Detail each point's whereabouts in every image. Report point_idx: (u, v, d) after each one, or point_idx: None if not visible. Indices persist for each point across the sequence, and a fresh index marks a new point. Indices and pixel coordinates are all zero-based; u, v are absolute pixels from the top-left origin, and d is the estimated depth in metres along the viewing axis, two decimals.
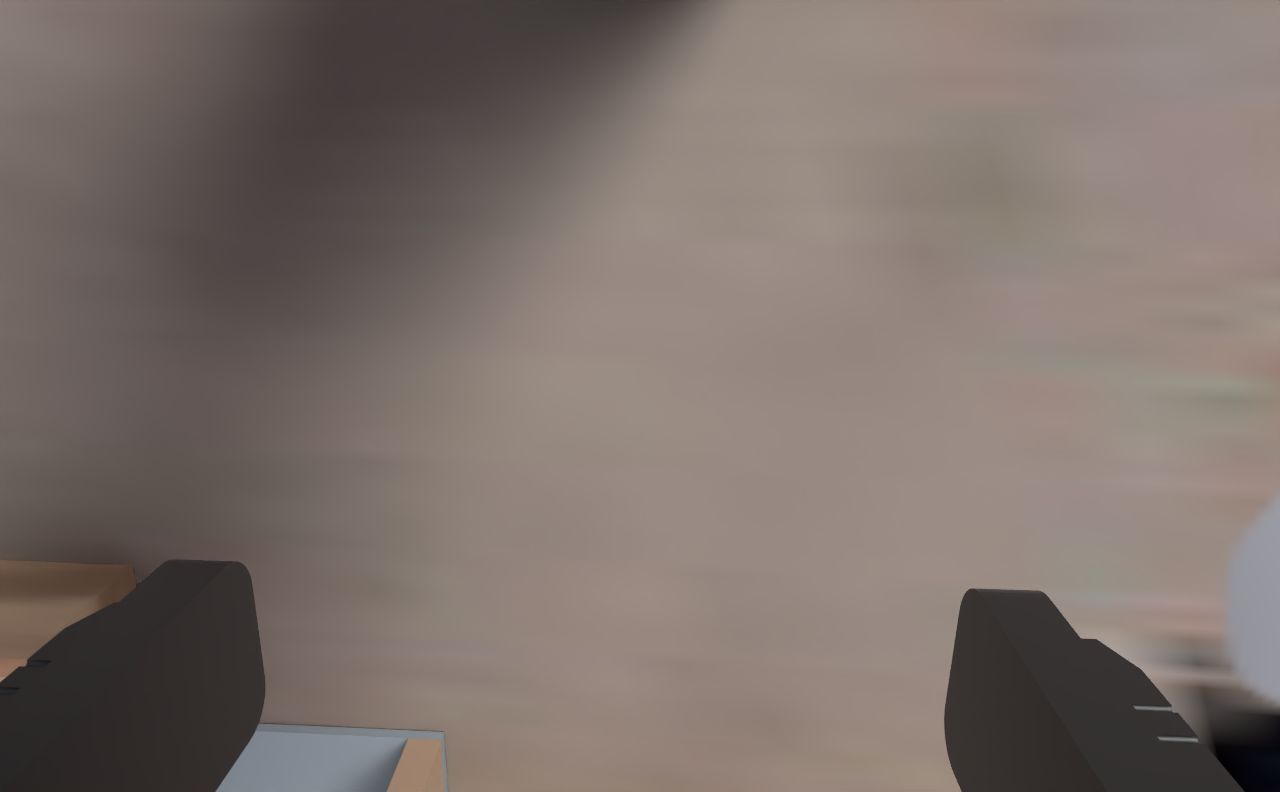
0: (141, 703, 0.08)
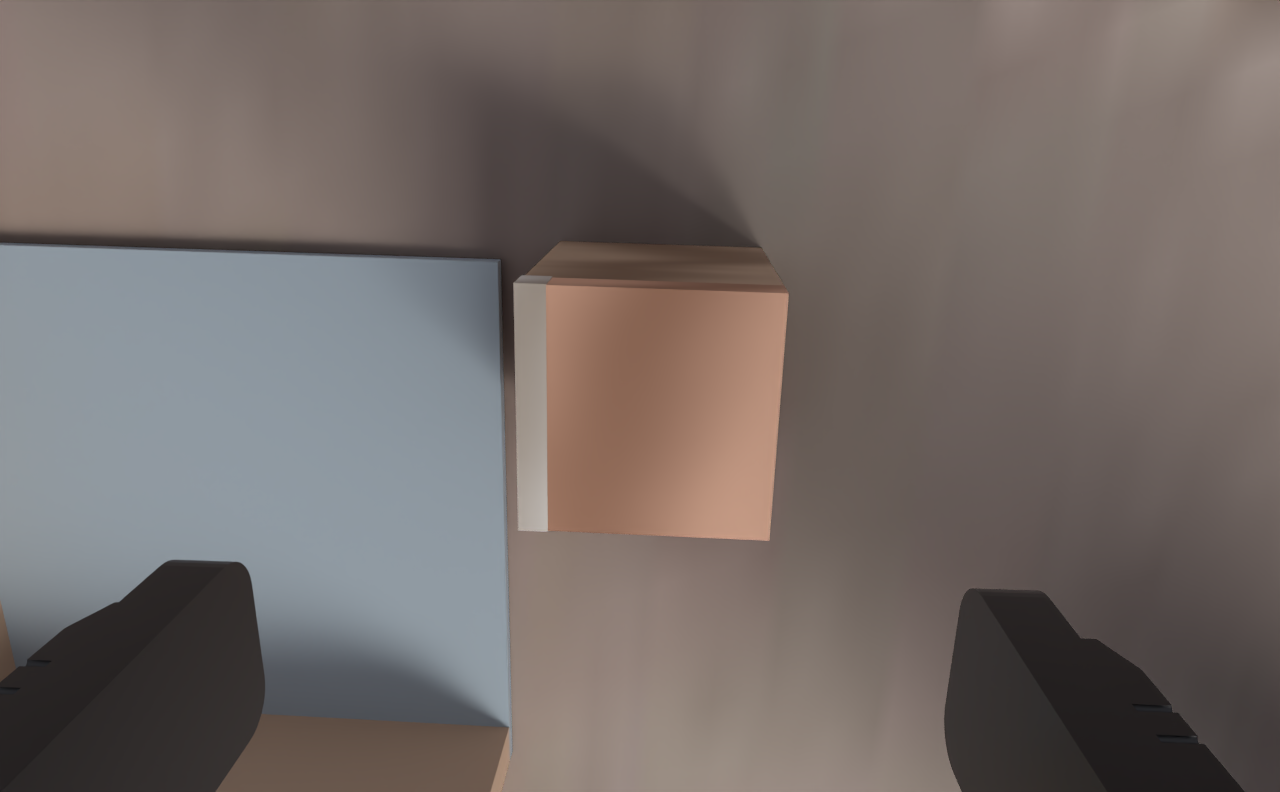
0: (139, 702, 0.08)
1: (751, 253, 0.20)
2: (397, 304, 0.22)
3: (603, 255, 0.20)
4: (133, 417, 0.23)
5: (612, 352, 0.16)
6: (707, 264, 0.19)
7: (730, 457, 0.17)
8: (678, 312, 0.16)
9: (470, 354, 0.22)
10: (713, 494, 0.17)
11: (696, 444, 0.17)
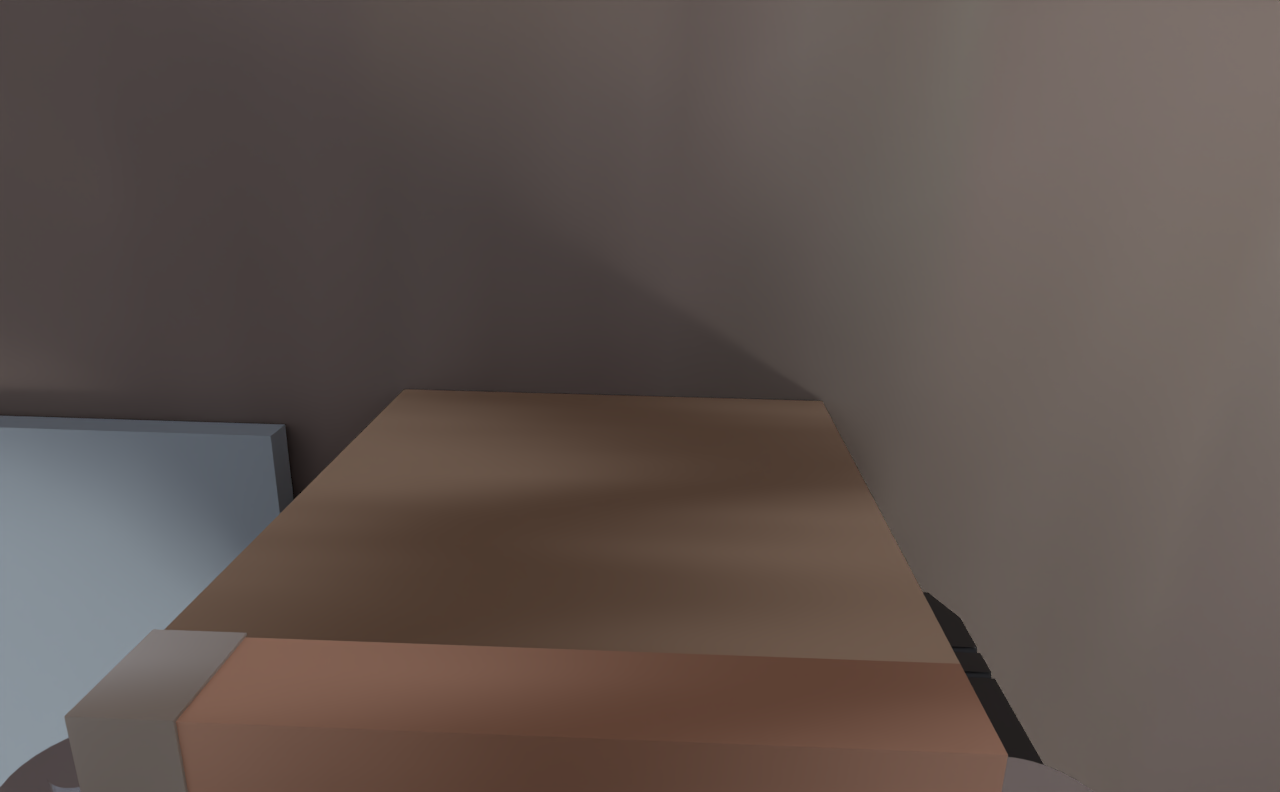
0: None
1: (809, 433, 0.09)
2: (74, 518, 0.11)
3: (467, 461, 0.08)
4: None
5: None
6: (714, 503, 0.07)
7: None
8: None
9: None
10: None
11: None
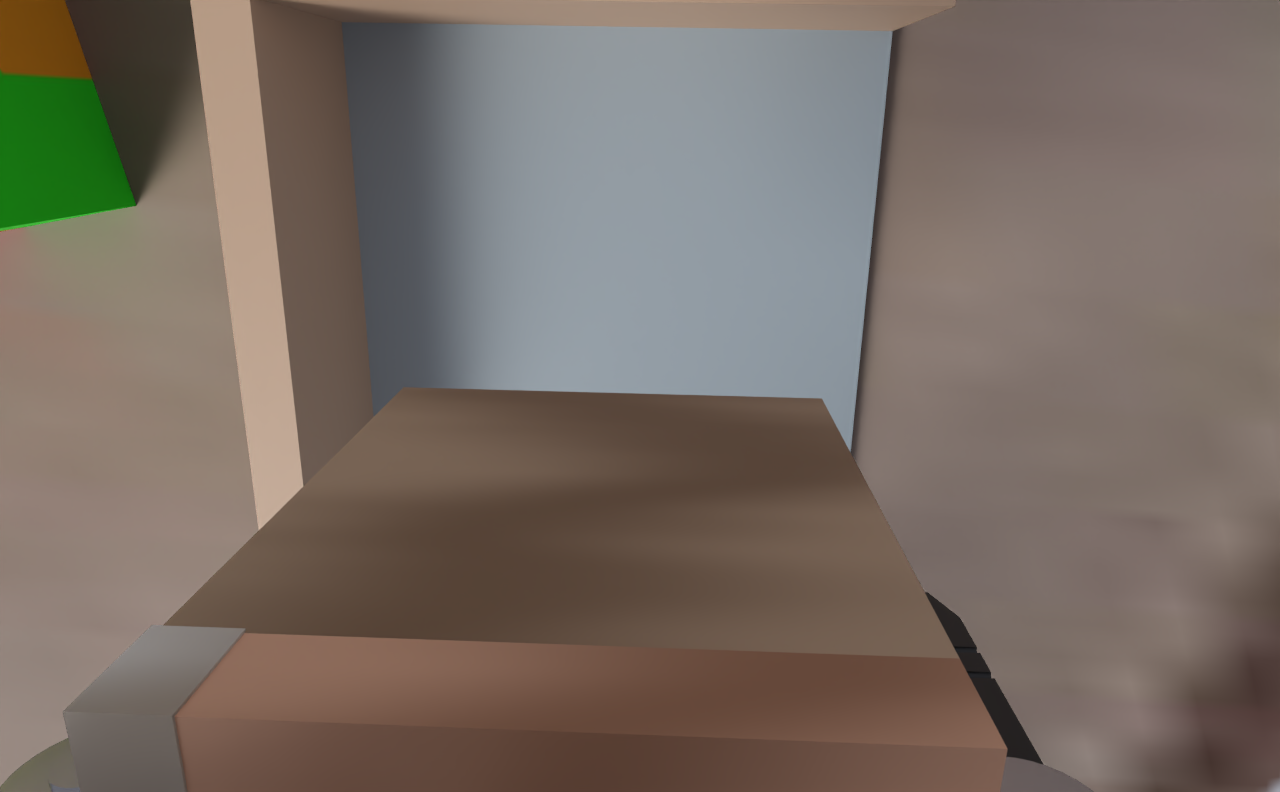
0: None
1: (808, 430, 0.09)
2: None
3: (467, 459, 0.08)
4: (702, 225, 0.23)
5: None
6: (714, 499, 0.07)
7: None
8: None
9: None
10: None
11: None
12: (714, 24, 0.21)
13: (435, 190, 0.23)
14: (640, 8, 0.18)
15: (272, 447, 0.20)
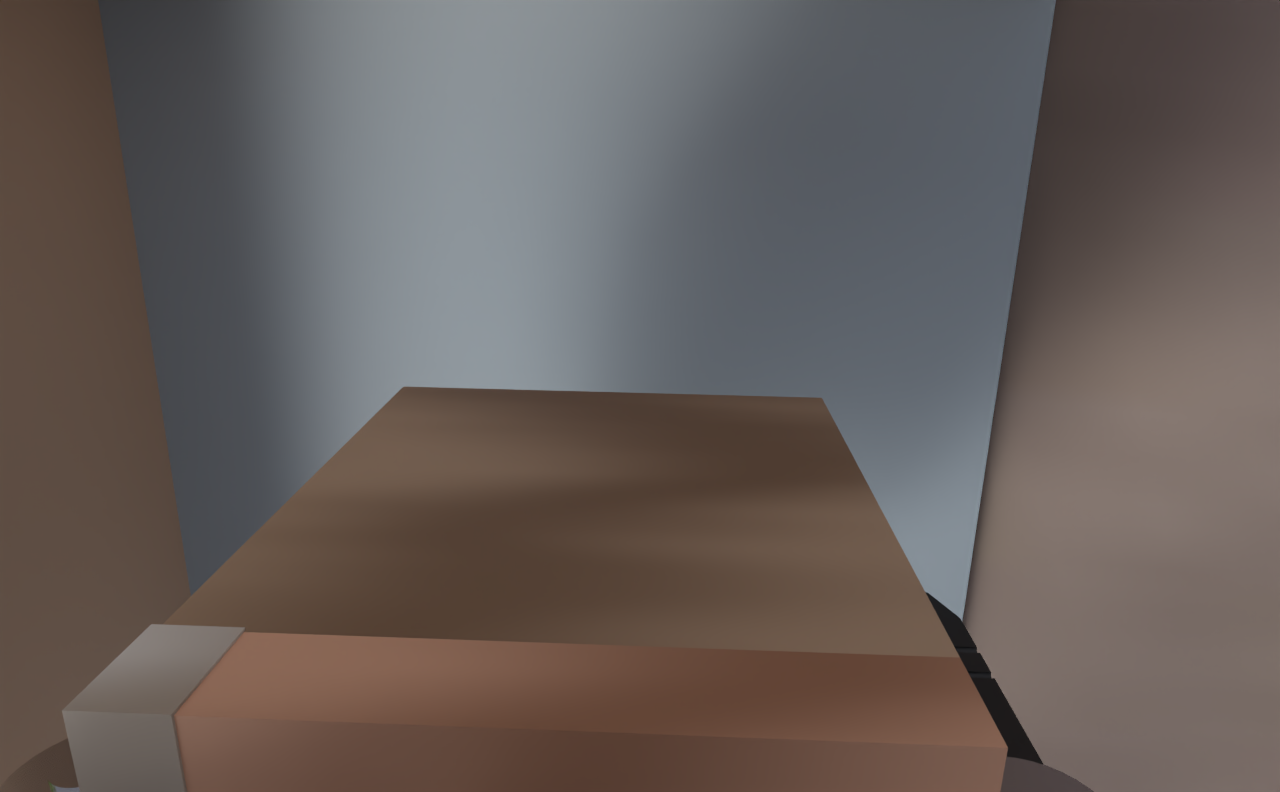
0: None
1: (809, 429, 0.09)
2: None
3: (466, 458, 0.08)
4: (720, 312, 0.14)
5: None
6: (714, 498, 0.07)
7: None
8: None
9: None
10: None
11: None
12: None
13: (271, 252, 0.14)
14: None
15: None
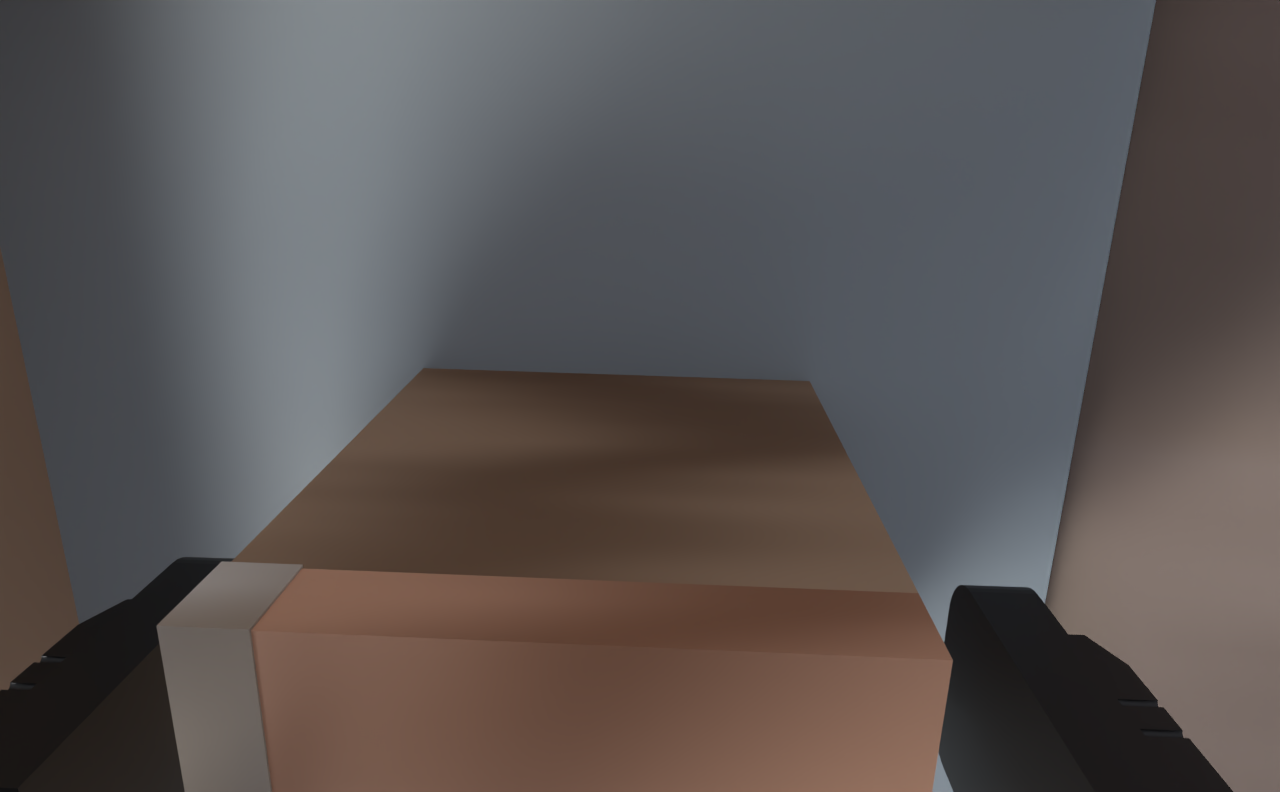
0: (155, 697, 0.08)
1: (796, 408, 0.10)
2: None
3: (485, 430, 0.09)
4: (731, 345, 0.11)
5: None
6: (709, 466, 0.08)
7: None
8: (633, 703, 0.06)
9: None
10: None
11: None
12: None
13: (171, 271, 0.11)
14: None
15: None
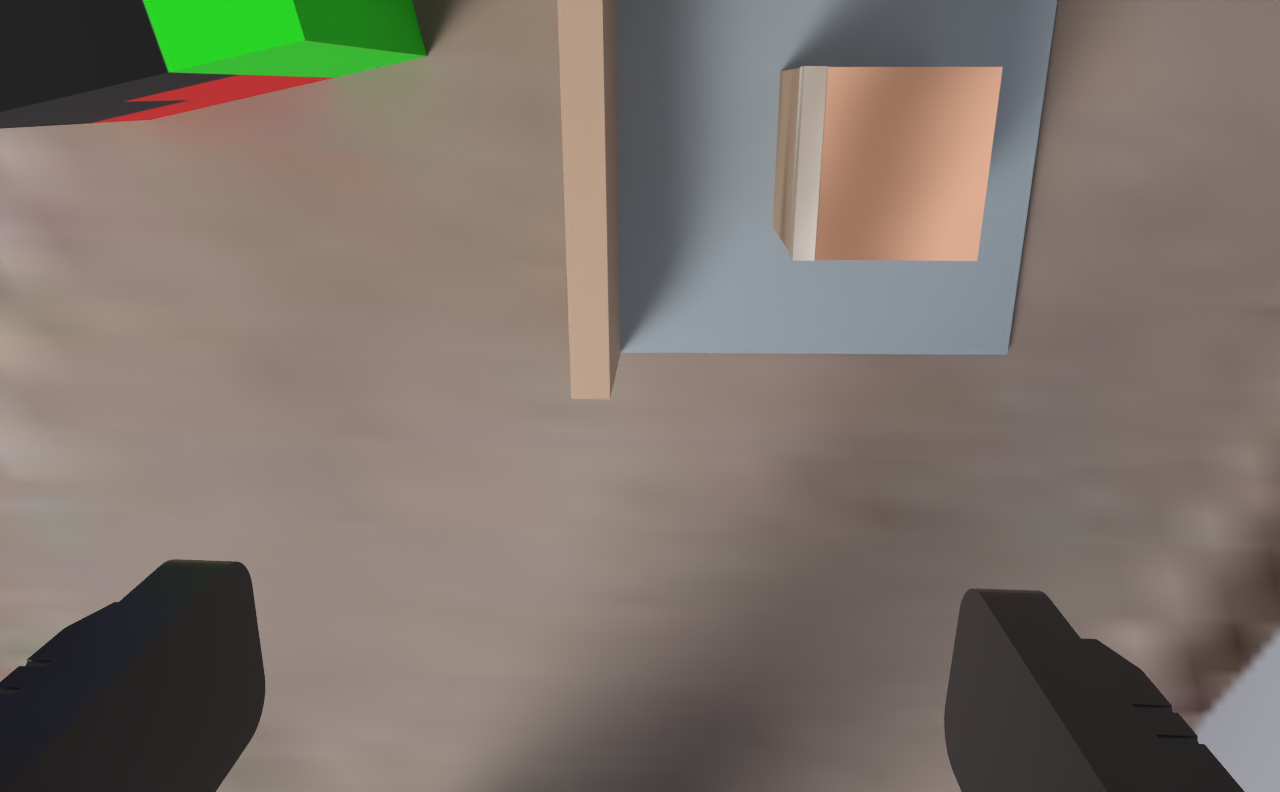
0: (140, 702, 0.08)
1: None
2: (983, 283, 0.30)
3: None
4: (906, 56, 0.28)
5: (872, 117, 0.23)
6: None
7: (952, 196, 0.23)
8: (922, 84, 0.22)
9: (941, 333, 0.31)
10: (938, 225, 0.24)
11: (928, 186, 0.23)
12: None
13: (683, 32, 0.28)
14: None
15: (585, 228, 0.25)
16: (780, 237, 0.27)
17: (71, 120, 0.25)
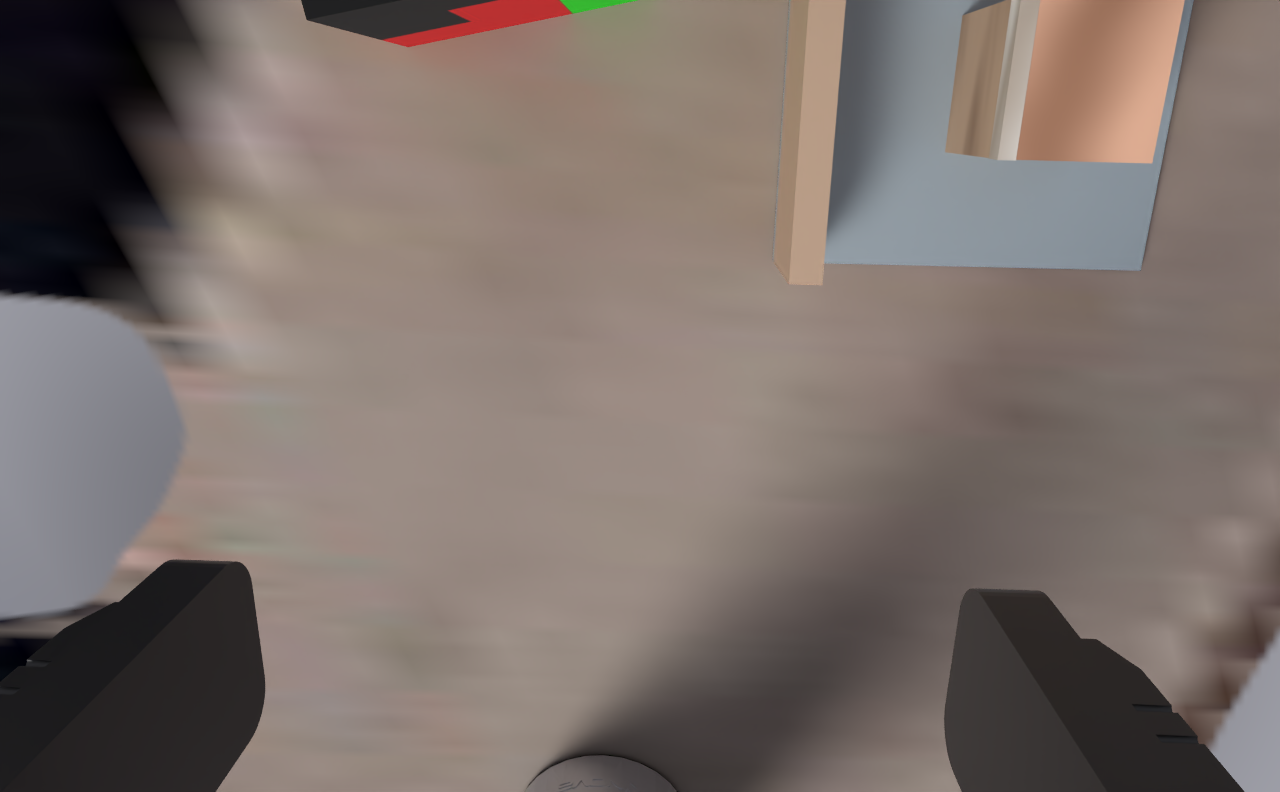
0: (139, 702, 0.08)
1: None
2: (1123, 206, 0.35)
3: None
4: None
5: (1074, 38, 0.27)
6: None
7: (1136, 106, 0.28)
8: (1117, 11, 0.27)
9: (1084, 250, 0.35)
10: (1122, 132, 0.28)
11: (1116, 98, 0.28)
12: None
13: None
14: None
15: (816, 133, 0.30)
16: (965, 153, 0.32)
17: (383, 31, 0.29)
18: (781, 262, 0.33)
